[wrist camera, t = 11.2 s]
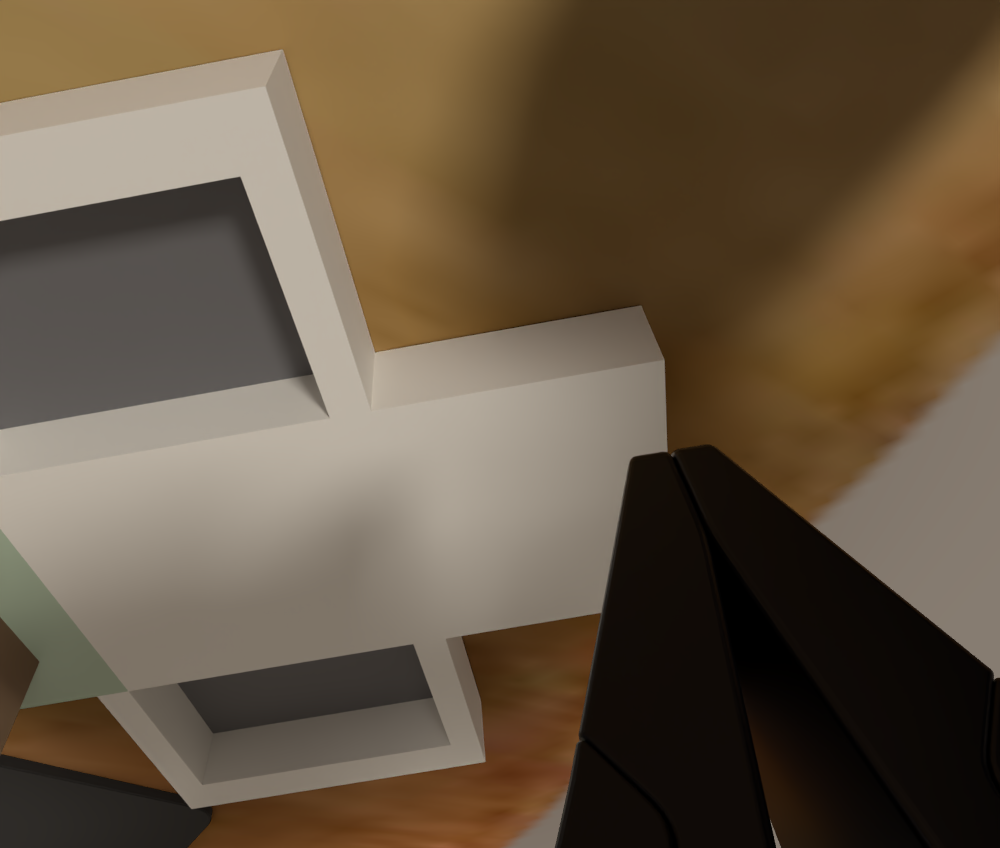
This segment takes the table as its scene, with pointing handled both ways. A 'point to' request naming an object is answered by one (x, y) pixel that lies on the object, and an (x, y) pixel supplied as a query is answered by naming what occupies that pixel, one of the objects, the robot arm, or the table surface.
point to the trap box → (273, 450)
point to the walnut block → (13, 678)
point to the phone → (89, 811)
